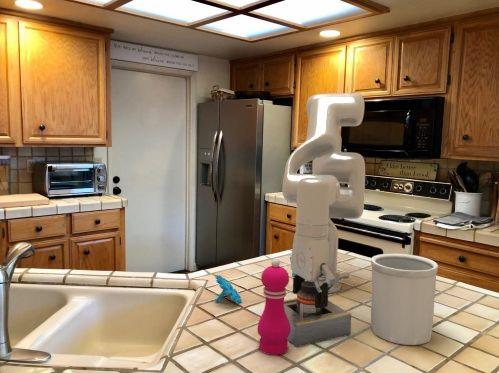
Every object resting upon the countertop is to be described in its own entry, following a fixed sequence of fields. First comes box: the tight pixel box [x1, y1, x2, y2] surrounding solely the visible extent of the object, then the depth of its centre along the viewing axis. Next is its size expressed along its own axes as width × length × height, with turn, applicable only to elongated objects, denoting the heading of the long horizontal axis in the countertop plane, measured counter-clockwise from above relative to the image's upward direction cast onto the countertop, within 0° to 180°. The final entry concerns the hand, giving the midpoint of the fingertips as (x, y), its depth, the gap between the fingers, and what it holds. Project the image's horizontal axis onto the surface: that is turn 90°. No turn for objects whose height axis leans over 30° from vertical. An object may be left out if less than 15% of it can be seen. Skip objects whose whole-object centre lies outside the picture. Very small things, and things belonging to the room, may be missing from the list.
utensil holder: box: [370, 253, 439, 346], centre depth 99 cm, size 15×15×18 cm
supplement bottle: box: [296, 281, 322, 318], centre depth 101 cm, size 6×6×11 cm
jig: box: [284, 297, 352, 348], centre depth 101 cm, size 15×13×5 cm
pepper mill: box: [256, 258, 290, 356], centre depth 90 cm, size 7×7×20 cm
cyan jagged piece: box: [214, 274, 243, 304], centre depth 117 cm, size 11×6×10 cm
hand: (309, 299), depth 100 cm, fingers open, 9 cm apart
